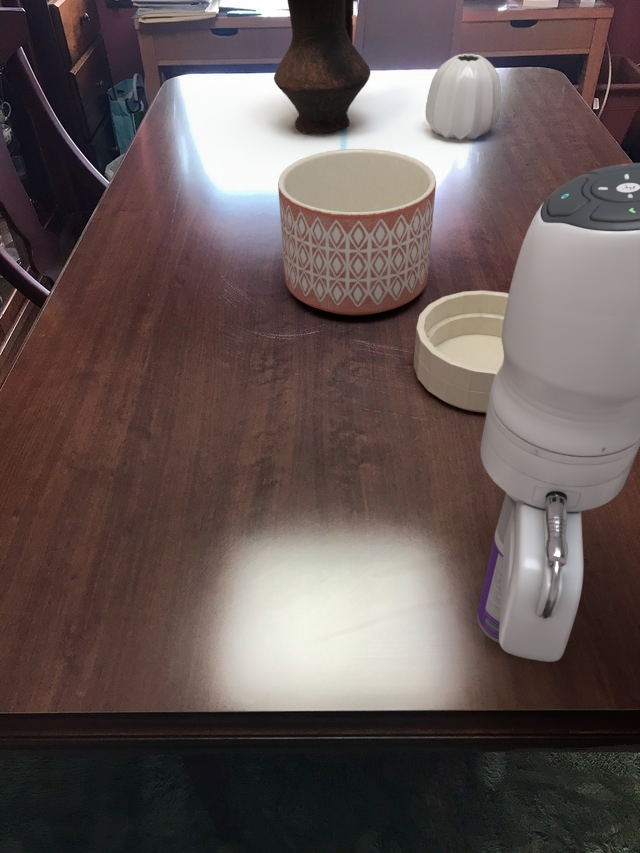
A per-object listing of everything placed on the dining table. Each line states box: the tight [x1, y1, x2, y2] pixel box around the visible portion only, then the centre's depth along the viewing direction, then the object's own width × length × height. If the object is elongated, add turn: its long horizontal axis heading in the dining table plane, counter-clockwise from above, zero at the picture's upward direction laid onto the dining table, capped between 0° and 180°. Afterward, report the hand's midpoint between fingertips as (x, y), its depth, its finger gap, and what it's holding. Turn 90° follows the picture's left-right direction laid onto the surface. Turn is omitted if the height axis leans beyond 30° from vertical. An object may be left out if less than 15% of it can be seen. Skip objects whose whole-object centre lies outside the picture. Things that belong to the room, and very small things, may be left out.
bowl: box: [413, 290, 509, 414], centre depth 77 cm, size 16×16×6 cm
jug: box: [273, 0, 371, 135], centre depth 129 cm, size 21×18×30 cm
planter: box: [277, 148, 437, 317], centre depth 89 cm, size 19×19×15 cm
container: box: [476, 492, 516, 644], centre depth 50 cm, size 5×5×15 cm
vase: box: [425, 53, 502, 141], centre depth 129 cm, size 14×14×13 cm
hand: (518, 574), depth 51 cm, fingers open, 6 cm apart
